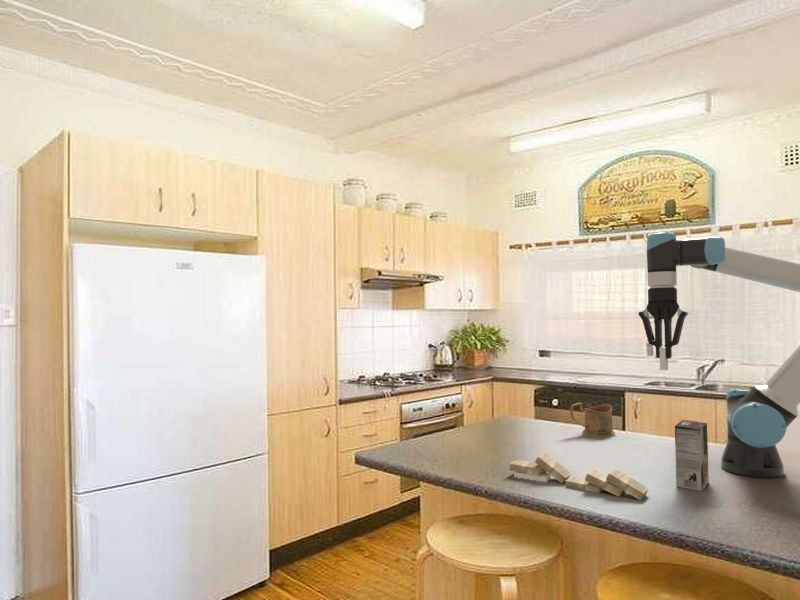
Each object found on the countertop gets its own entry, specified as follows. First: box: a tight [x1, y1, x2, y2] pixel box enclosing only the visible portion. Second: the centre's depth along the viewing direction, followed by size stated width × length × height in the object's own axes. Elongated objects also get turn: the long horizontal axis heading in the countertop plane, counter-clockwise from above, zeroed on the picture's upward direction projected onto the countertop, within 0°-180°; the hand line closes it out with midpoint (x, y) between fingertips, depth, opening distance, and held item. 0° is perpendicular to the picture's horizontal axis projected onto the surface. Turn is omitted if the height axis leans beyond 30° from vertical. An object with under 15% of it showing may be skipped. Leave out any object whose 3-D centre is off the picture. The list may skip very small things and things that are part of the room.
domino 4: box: [565, 475, 605, 494], centre depth 145 cm, size 2×5×9 cm
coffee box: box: [674, 419, 710, 492], centre depth 146 cm, size 9×6×16 cm
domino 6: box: [606, 468, 650, 501], centre depth 138 cm, size 2×5×9 cm
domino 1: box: [509, 459, 547, 476], centre depth 155 cm, size 2×5×9 cm
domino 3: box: [534, 452, 573, 484], centre depth 152 cm, size 2×5×9 cm
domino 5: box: [585, 468, 626, 498], centre depth 141 cm, size 2×5×9 cm
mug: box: [569, 402, 616, 438], centre depth 204 cm, size 12×18×12 cm, turn 107°
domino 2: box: [513, 471, 552, 483], centre depth 154 cm, size 2×5×9 cm
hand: (664, 369), depth 156 cm, fingers closed
